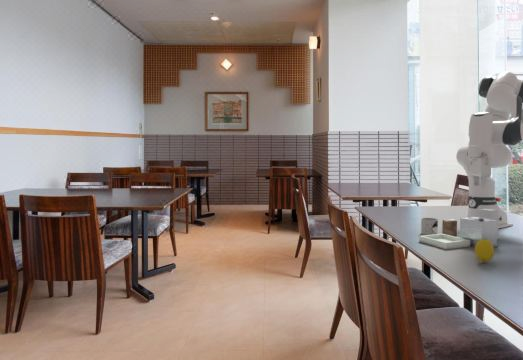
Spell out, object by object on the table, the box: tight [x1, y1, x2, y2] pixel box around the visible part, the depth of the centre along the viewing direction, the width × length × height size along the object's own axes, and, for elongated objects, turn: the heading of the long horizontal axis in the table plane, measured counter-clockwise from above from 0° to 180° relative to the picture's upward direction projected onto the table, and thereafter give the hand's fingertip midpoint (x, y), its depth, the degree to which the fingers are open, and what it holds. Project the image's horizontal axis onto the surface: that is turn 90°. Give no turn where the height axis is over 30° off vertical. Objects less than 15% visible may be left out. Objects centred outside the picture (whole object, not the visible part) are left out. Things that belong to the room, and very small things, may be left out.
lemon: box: [474, 239, 495, 264], centre depth 137 cm, size 6×6×8 cm
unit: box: [459, 216, 500, 248], centre depth 163 cm, size 9×11×11 cm
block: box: [441, 218, 458, 237], centre depth 179 cm, size 4×4×7 cm
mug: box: [420, 217, 439, 236], centre depth 186 cm, size 10×7×7 cm, turn 147°
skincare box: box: [479, 209, 500, 240], centre depth 174 cm, size 6×4×12 cm
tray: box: [418, 233, 471, 250], centre depth 165 cm, size 12×14×2 cm
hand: (479, 187), depth 170 cm, fingers open, 8 cm apart
